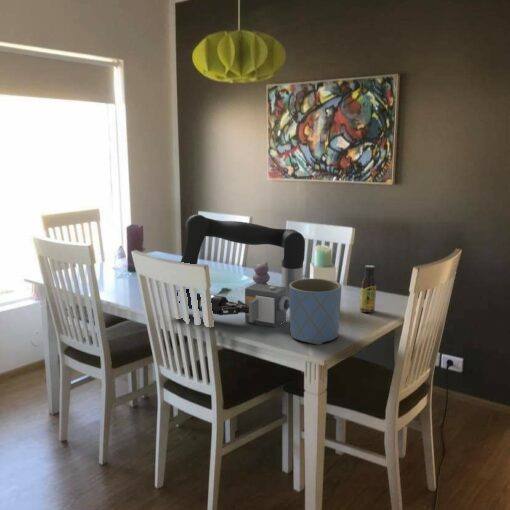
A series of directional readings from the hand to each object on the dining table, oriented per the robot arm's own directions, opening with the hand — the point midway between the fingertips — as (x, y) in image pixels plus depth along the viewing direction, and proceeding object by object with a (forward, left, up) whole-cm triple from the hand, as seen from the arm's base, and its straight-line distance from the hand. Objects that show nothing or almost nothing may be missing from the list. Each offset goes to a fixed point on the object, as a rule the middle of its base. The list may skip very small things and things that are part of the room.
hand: (251, 310), depth 215 cm
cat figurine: (-34, -50, -7) cm, 60 cm away
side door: (-3, +3, -5) cm, 6 cm away
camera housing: (-9, -2, -7) cm, 12 cm away
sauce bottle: (-53, +7, -7) cm, 54 cm away
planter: (-16, +20, -7) cm, 27 cm away
